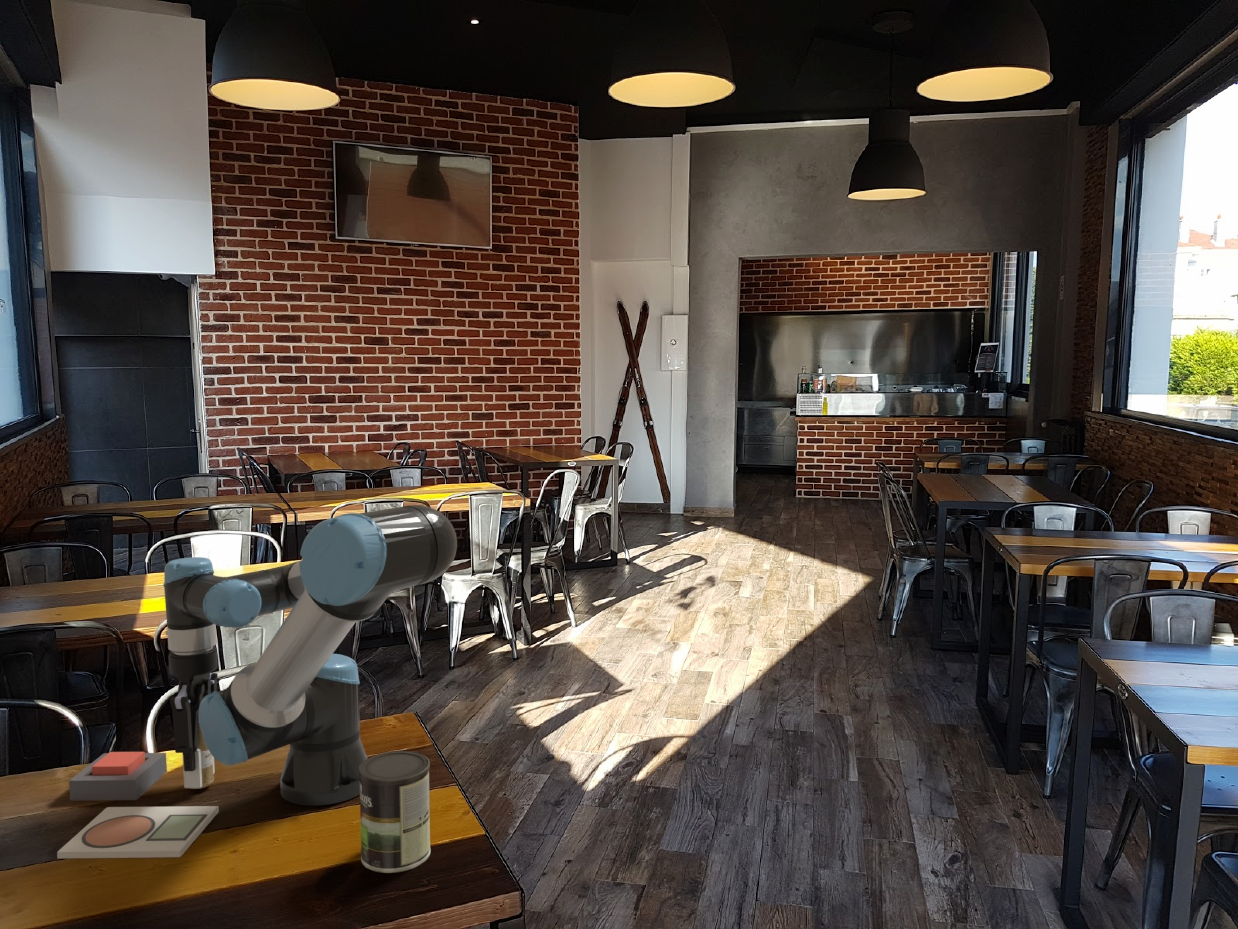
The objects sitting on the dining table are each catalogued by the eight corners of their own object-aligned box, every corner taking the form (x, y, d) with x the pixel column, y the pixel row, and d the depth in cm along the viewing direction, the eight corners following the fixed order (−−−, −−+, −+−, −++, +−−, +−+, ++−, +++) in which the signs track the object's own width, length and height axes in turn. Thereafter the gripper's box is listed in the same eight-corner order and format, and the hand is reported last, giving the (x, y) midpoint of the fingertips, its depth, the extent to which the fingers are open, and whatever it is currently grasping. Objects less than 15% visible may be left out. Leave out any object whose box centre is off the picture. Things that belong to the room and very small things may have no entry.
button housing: (166, 771, 166) (165, 752, 165) (136, 800, 155) (135, 780, 154) (105, 772, 165) (103, 753, 165) (70, 800, 154) (69, 780, 154)
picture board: (218, 812, 151) (218, 805, 151) (180, 857, 137) (179, 850, 137) (107, 813, 150) (107, 806, 150) (57, 858, 136) (57, 851, 136)
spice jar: (216, 785, 159) (212, 710, 157) (187, 792, 156) (183, 715, 155) (211, 776, 162) (207, 702, 161) (183, 782, 160) (179, 707, 158)
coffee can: (365, 880, 131) (362, 785, 129) (357, 845, 140) (354, 756, 139) (437, 865, 135) (435, 773, 133) (425, 832, 144) (423, 746, 143)
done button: (145, 768, 163) (144, 751, 163) (128, 783, 157) (127, 766, 157) (111, 768, 163) (110, 752, 162) (92, 783, 157) (91, 766, 157)
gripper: (192, 634, 165) (199, 759, 168) (145, 665, 148) (153, 804, 150) (234, 634, 166) (241, 759, 168) (192, 664, 148) (200, 803, 150)
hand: (199, 780), depth 159 cm, fingers closed on spice jar, 4 cm apart
